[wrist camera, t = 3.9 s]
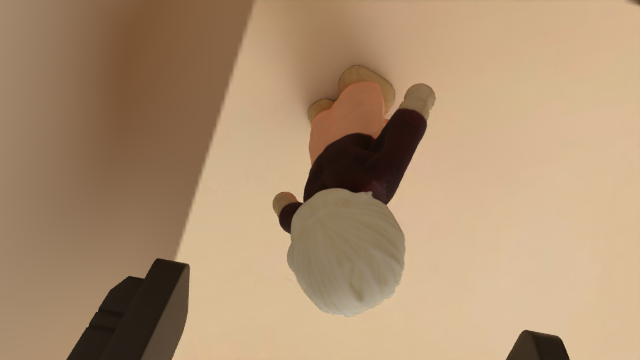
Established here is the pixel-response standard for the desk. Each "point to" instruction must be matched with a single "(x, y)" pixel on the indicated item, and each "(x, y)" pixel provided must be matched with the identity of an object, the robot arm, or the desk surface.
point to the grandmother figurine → (353, 193)
